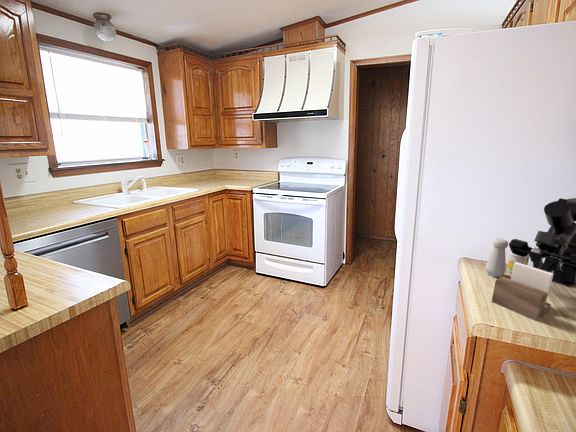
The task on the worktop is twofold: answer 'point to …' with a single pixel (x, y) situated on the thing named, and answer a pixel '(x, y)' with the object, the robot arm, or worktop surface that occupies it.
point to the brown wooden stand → (520, 298)
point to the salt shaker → (497, 259)
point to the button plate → (532, 277)
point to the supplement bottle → (516, 260)
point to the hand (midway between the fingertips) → (533, 279)
